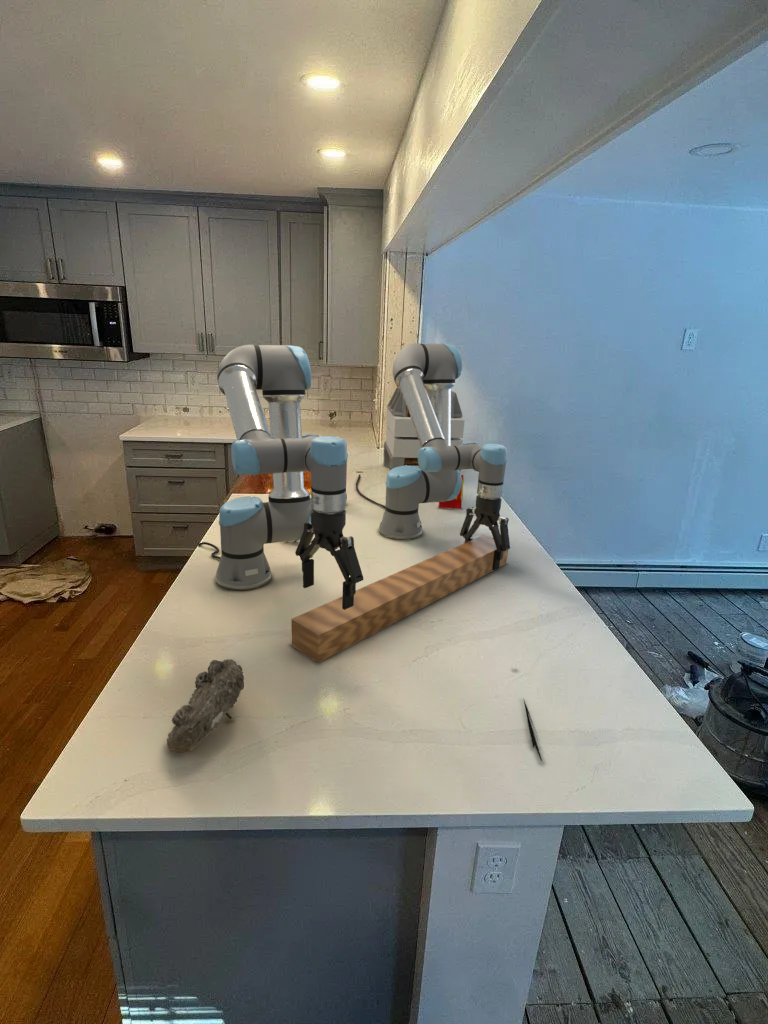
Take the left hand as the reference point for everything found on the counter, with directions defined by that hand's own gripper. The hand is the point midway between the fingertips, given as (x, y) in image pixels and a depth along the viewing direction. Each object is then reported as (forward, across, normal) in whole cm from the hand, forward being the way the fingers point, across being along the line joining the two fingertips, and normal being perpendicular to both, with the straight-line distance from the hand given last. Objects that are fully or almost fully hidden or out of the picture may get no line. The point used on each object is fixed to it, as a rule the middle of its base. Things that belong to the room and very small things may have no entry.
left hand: (327, 596), depth 130 cm
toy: (+12, -49, +109) cm, 120 cm away
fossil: (+12, +4, -33) cm, 35 cm away
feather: (+12, +46, +13) cm, 49 cm away
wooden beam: (+12, 0, +32) cm, 34 cm away
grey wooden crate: (+12, -80, +130) cm, 153 cm away
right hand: (+12, 0, +64) cm, 65 cm away
